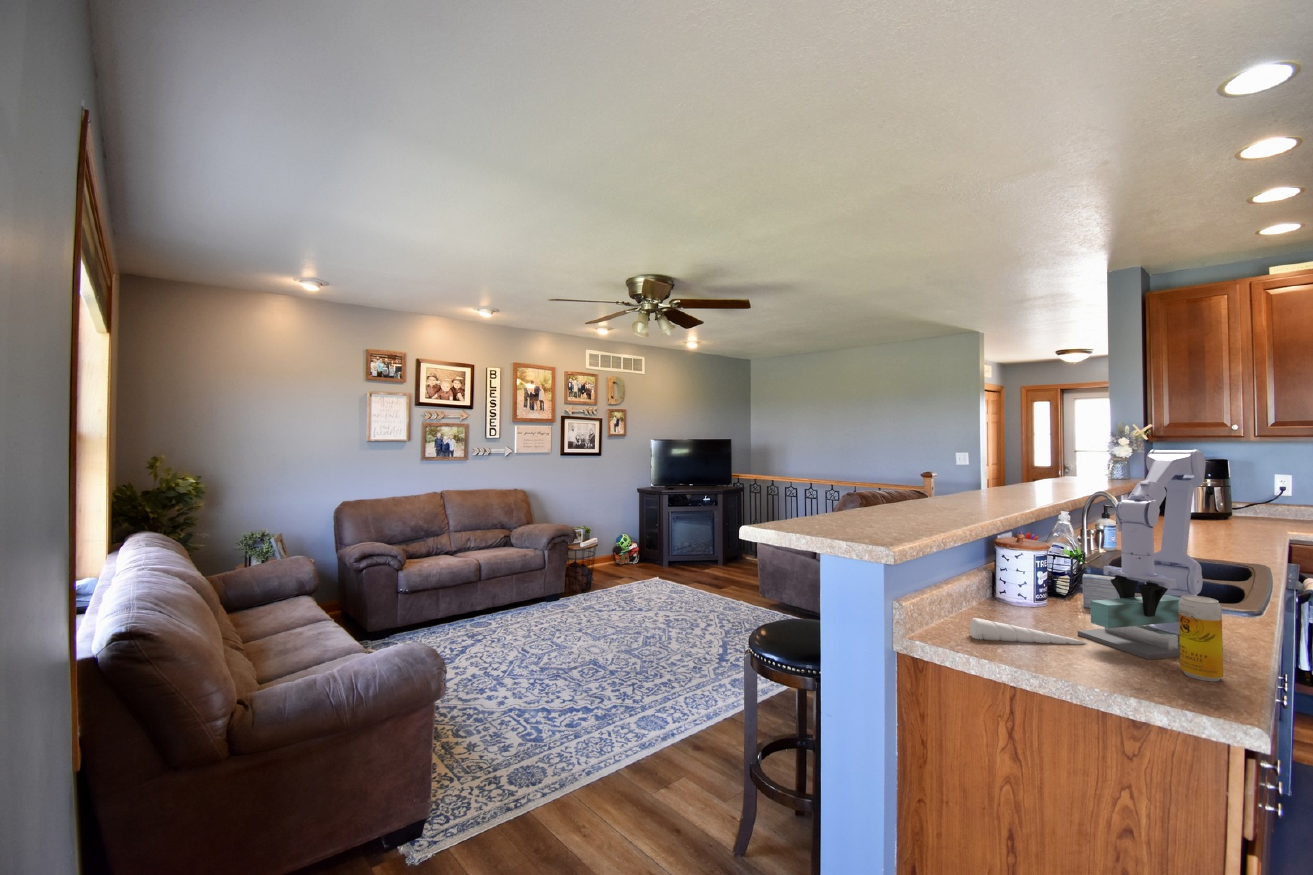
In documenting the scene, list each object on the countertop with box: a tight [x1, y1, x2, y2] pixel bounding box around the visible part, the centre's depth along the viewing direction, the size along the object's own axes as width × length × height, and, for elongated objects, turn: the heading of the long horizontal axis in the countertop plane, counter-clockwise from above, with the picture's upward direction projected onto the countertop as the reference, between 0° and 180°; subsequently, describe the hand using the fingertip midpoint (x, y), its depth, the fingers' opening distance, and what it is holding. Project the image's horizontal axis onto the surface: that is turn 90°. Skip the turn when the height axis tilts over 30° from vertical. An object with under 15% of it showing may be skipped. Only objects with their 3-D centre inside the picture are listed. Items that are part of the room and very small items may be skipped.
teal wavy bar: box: [1090, 595, 1181, 628], centre depth 128 cm, size 22×4×5 cm, turn 102°
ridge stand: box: [1077, 625, 1180, 660], centre depth 128 cm, size 16×16×4 cm
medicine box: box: [1081, 573, 1120, 609], centre depth 157 cm, size 8×4×9 cm, turn 52°
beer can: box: [1178, 595, 1224, 682], centre depth 110 cm, size 6×6×15 cm
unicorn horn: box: [969, 617, 1087, 645], centre depth 130 cm, size 5×24×5 cm, turn 73°
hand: (1139, 613), depth 128 cm, fingers closed on teal wavy bar, 4 cm apart
